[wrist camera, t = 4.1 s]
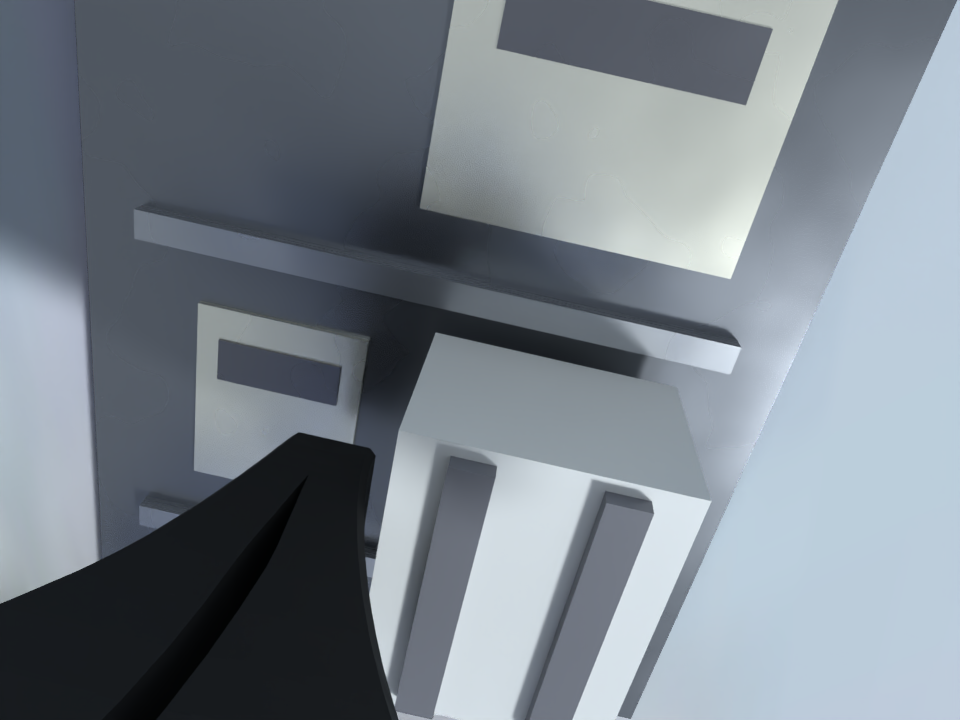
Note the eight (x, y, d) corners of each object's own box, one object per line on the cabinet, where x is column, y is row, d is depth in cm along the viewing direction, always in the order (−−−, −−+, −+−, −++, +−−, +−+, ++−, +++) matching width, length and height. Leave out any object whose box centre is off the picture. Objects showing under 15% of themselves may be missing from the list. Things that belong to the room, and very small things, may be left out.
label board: (629, 703, 16) (631, 731, 16) (113, 586, 16) (96, 609, 16) (996, -120, 9) (1027, -129, 9) (75, -332, 9) (42, -355, 9)
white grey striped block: (593, 607, 14) (601, 766, 11) (391, 562, 14) (347, 708, 11) (676, 387, 12) (715, 513, 9) (435, 332, 12) (394, 440, 9)
